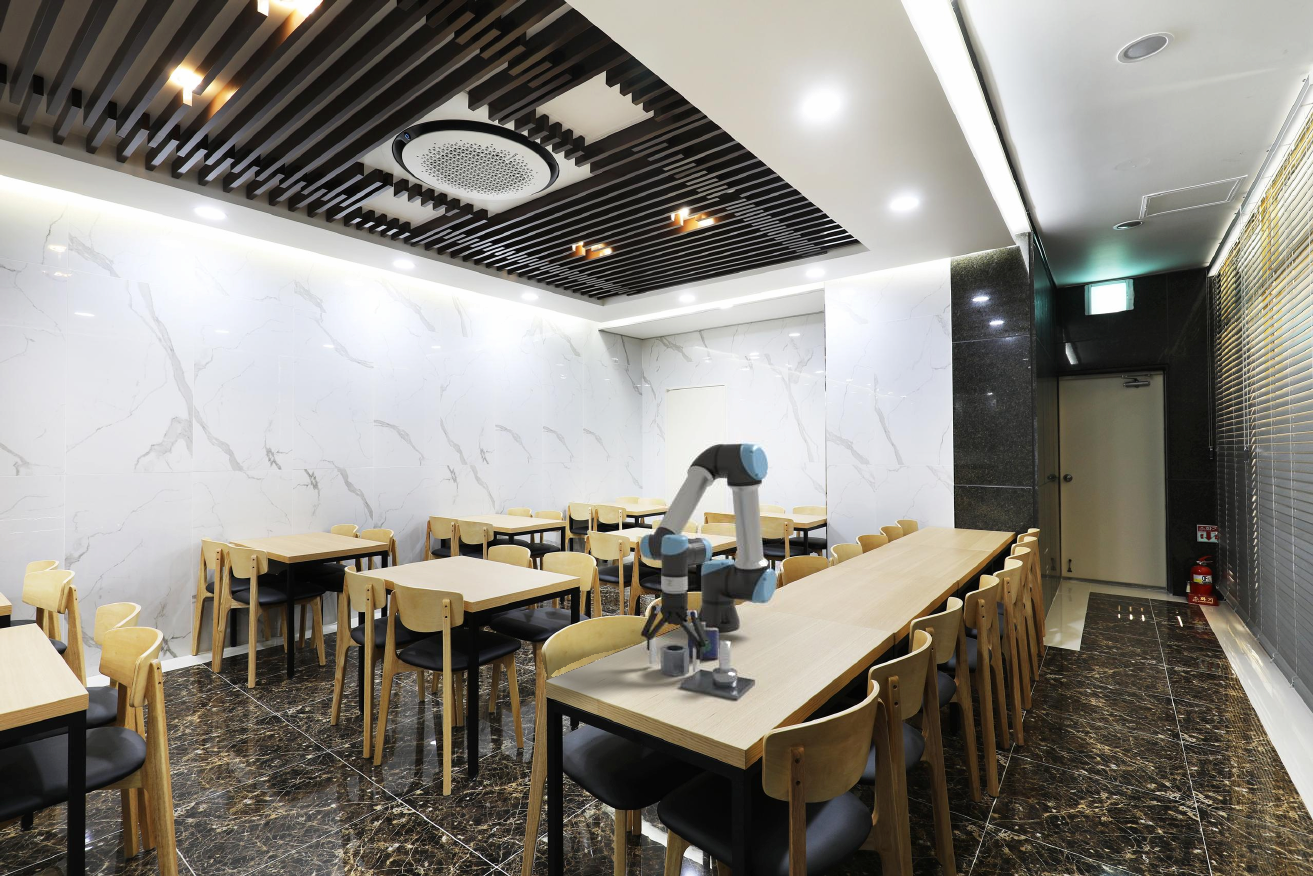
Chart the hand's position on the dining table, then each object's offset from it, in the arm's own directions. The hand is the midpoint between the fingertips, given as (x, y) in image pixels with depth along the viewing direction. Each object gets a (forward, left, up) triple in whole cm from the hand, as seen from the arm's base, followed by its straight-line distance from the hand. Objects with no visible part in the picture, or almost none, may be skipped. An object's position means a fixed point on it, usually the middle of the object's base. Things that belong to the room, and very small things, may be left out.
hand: (674, 667), depth 172 cm
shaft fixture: (+4, +15, -1) cm, 16 cm away
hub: (0, 0, -1) cm, 1 cm away
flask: (-14, +2, -2) cm, 15 cm away
